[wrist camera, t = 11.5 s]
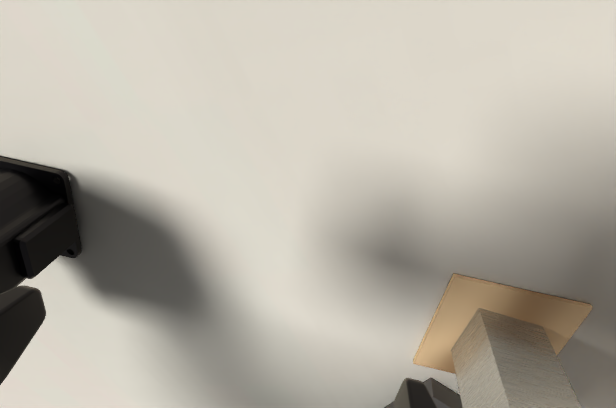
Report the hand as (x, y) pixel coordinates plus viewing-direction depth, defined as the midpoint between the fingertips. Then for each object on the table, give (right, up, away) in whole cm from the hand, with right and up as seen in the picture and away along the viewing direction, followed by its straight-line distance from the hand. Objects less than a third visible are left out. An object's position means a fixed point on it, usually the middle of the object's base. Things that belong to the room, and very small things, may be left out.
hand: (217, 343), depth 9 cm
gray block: (+14, -5, +15) cm, 21 cm away
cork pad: (+14, -5, +16) cm, 22 cm away
